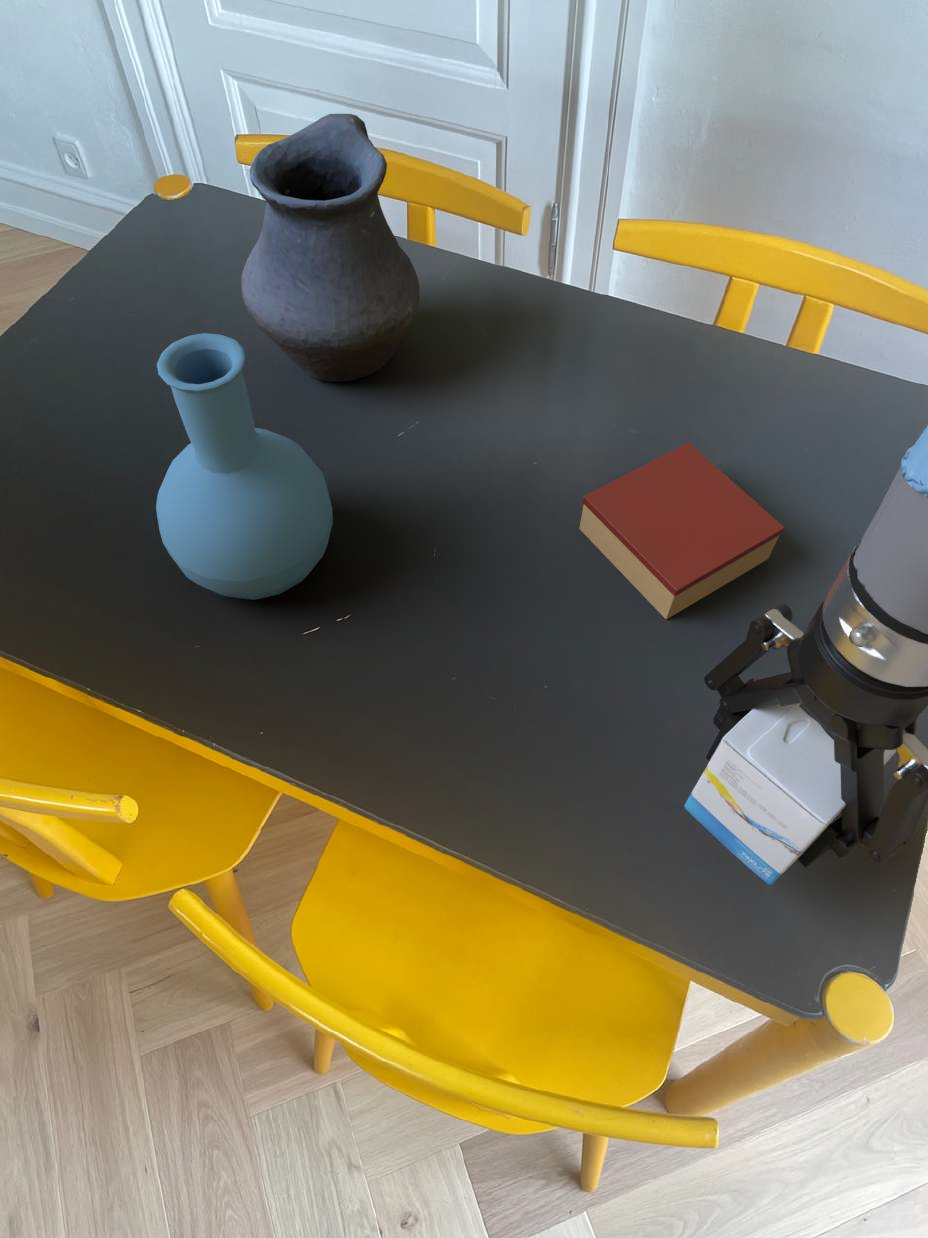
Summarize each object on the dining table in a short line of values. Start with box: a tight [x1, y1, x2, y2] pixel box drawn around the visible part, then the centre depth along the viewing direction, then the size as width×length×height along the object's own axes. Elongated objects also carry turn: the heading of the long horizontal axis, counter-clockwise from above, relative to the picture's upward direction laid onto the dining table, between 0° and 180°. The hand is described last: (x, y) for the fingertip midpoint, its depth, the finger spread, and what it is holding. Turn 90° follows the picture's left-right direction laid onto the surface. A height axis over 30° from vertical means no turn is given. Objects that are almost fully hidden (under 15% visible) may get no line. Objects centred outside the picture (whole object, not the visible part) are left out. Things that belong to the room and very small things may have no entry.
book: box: [579, 442, 786, 620], centre depth 88 cm, size 14×14×5 cm
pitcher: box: [240, 113, 421, 383], centre depth 97 cm, size 21×22×25 cm
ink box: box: [683, 703, 897, 886], centre depth 61 cm, size 9×8×12 cm
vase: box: [155, 332, 334, 601], centre depth 78 cm, size 16×16×25 cm
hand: (766, 801), depth 65 cm, fingers closed on ink box, 9 cm apart
